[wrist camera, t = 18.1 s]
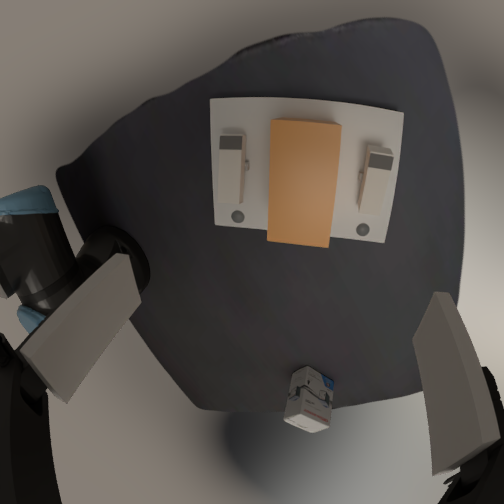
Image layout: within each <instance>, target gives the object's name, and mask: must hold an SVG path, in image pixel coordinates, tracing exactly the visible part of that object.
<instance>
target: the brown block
mask: <svg viewBox="0 0 504 504" xmlns="http://www.w3.org/2000/svg"><path fill="white" fill-rule="evenodd" d="M341 130H342V125H340V124H338V123H336V122H332V121H323V120H313V119H301V118H285V117H280V118H276V119H271V124H270V167H269V201H268V230H267V241H273V242H282V243H291V244H299V245H308V246H316V247H325V248H328V246H329V239H330V232H331V225H332V218H333V211H334V203H335V194H336V186H337V176H338V166H339V156H340V144H341Z"/></svg>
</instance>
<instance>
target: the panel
mask: <svg viewBox="0 0 504 504" xmlns="http://www.w3.org/2000/svg"><path fill="white" fill-rule="evenodd" d="M280 117H285V118H301V119H313V120H323V121H332V122H336V123H338V124H340V125H342V130H341V144H340V156H339V166H338V176H337V186H336V194H335V203H334V211H333V218H332V225H331V232H330V237H339V238H348V239H356V240H364V241H372V242H380V243H384V241H385V237H386V233H387V228H388V223H389V219H390V214H391V209H392V203H393V198H394V192H395V186H396V180H397V173H398V166H399V158H400V150H401V141H402V130H403V117H404V113H402V112H397V111H392V110H387V109H382V108H376V107H370V106H364V105H358V104H351V103H343V102H335V101H325V100H314V99H299V98H276V97H240V98H216V99H210V125H211V155H212V179H213V199H214V216H215V225H221V226H233V227H243V228H254V229H264V230H268V201H269V167H270V124H271V119H276V118H280ZM220 134H243V135H245V136H246V152H245V171H244V192H243V203H240V204H232V203H217V201H218V173H219V151H220V149H219V143H220ZM368 145H373V146H379V147H385V148H390V149H391V151H392V153H393V154H394V159H393V164H392V169H391V171H390V176H389V180H388V184H387V189H386V193H385V197H384V201H383V204H382V208H381V212H380V216H376V215H369V214H361V213H359V211H358V205H357V204H358V199H359V194H360V189H361V184H362V178H363V173H364V167H365V161H366V154H367V148H368Z"/></svg>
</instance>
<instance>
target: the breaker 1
mask: <svg viewBox="0 0 504 504" xmlns="http://www.w3.org/2000/svg"><path fill="white" fill-rule="evenodd" d="M219 149H220V151H219V173H218V201H217V203H232V204H240V203H243V192H244V171H245V152H246V136H245V135H243V134H220V143H219Z"/></svg>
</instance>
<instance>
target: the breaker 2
mask: <svg viewBox="0 0 504 504" xmlns="http://www.w3.org/2000/svg"><path fill="white" fill-rule="evenodd" d="M393 159H394V154H393V153H392V151H391V149H390V148H385V147H379V146H373V145H368V148H367V154H366V161H365V167H364V173H363V178H362V184H361V189H360V194H359V199H358V204H357V205H358V211H359V213H361V214H369V215H376V216H380V212H381V208H382V204H383V201H384V197H385V193H386V189H387V184H388V180H389V176H390V171H391V169H392V164H393Z"/></svg>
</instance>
